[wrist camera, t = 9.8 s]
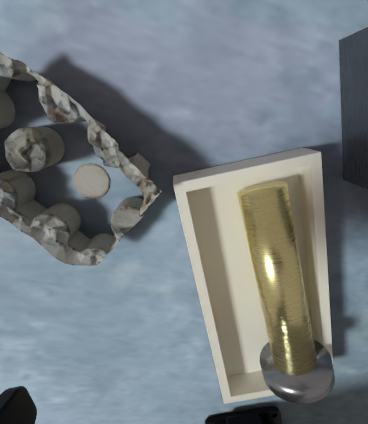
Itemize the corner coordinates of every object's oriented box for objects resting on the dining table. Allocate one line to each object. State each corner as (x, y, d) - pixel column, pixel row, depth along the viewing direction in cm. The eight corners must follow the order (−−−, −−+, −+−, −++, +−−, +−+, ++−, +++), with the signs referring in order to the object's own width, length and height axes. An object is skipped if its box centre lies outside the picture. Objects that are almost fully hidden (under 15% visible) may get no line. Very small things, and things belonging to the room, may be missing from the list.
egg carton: (172, 178, 18) (172, 195, 14) (100, 255, 20) (81, 289, 16) (31, 48, 16) (-17, 26, 12) (-40, 149, 17) (-102, 159, 13)
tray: (319, 358, 23) (334, 384, 21) (219, 377, 23) (224, 403, 21) (303, 147, 17) (321, 151, 15) (173, 175, 18) (172, 184, 16)
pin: (291, 338, 22) (349, 372, 18) (249, 372, 20) (303, 419, 16) (261, 177, 19) (323, 176, 15) (206, 198, 17) (261, 204, 13)
